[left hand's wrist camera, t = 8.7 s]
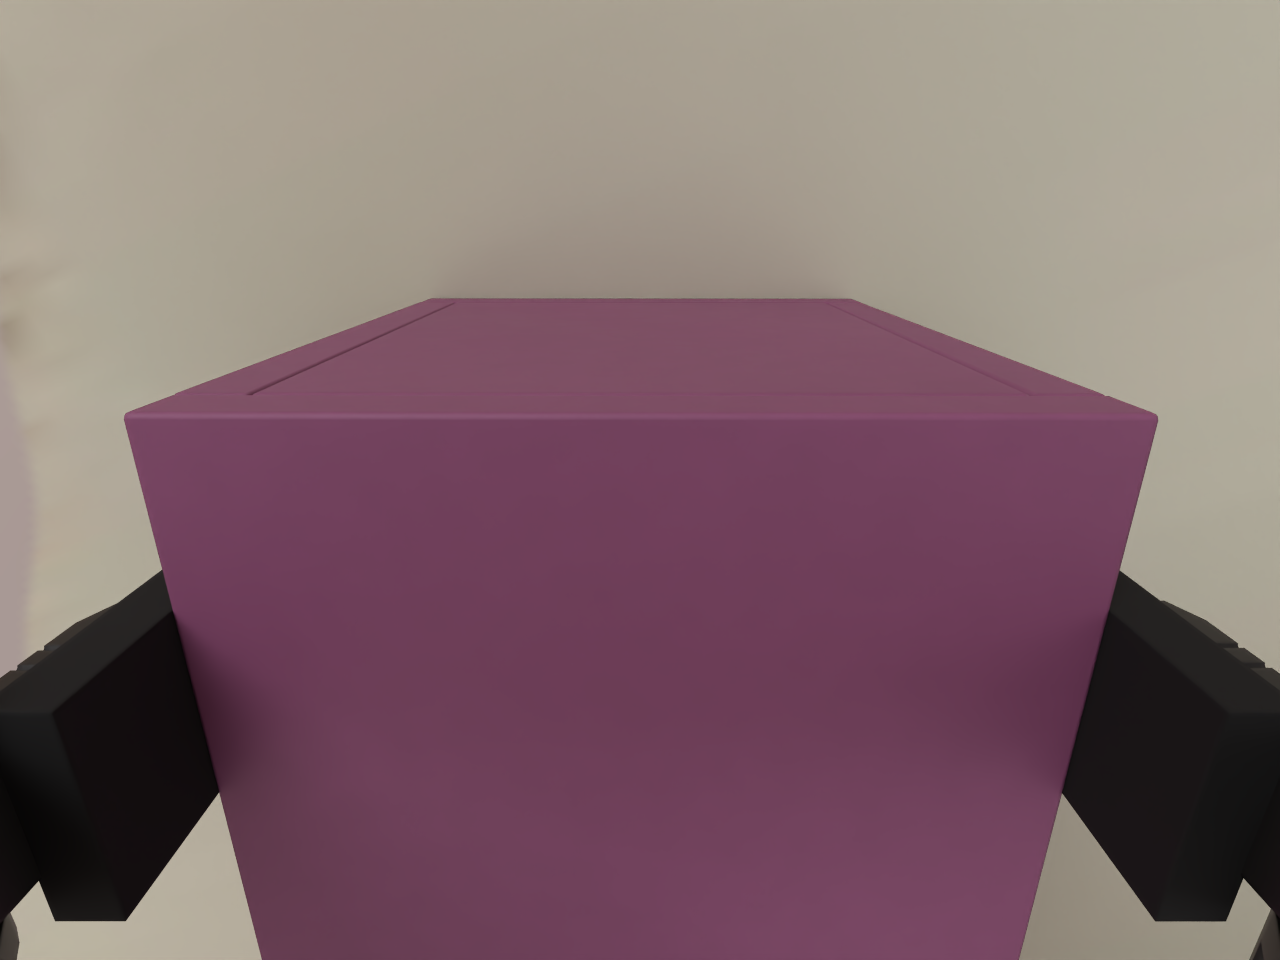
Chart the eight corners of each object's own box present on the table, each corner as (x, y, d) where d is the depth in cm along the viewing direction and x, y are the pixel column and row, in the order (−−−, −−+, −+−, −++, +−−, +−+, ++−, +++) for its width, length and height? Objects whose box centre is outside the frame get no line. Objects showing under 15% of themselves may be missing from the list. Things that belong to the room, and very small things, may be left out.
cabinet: (803, 784, 24) (942, 1264, 13) (476, 784, 24) (336, 1262, 13) (853, 298, 18) (1164, 414, 7) (429, 298, 18) (118, 412, 7)
